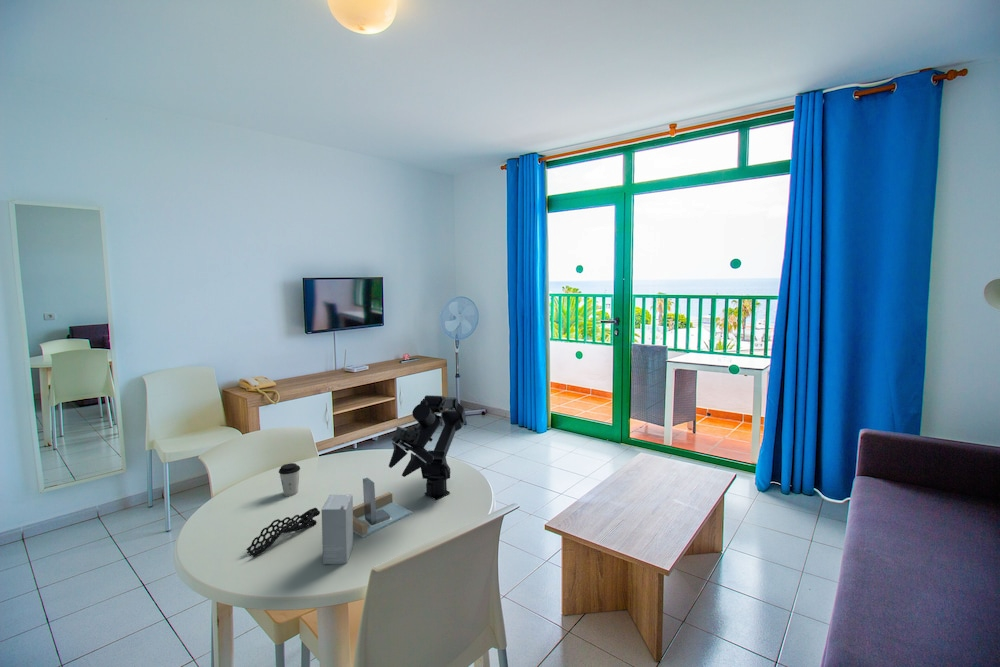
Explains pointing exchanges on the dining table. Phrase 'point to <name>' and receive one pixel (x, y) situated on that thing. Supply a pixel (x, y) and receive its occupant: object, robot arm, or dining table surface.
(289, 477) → the coffee cup
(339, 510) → the skincare box
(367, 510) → the grey tall post
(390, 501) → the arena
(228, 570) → the dining table surface
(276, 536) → the decorative element
